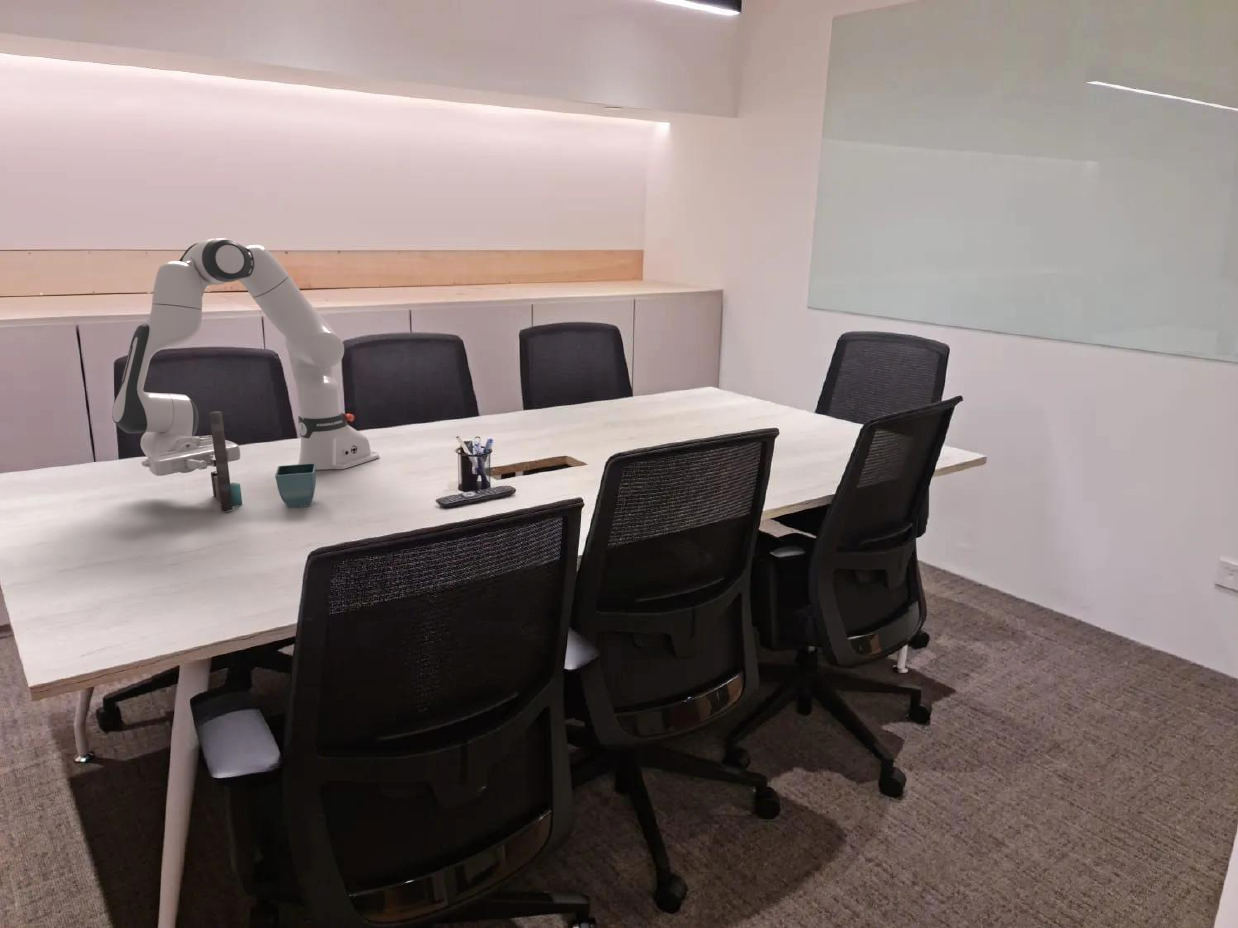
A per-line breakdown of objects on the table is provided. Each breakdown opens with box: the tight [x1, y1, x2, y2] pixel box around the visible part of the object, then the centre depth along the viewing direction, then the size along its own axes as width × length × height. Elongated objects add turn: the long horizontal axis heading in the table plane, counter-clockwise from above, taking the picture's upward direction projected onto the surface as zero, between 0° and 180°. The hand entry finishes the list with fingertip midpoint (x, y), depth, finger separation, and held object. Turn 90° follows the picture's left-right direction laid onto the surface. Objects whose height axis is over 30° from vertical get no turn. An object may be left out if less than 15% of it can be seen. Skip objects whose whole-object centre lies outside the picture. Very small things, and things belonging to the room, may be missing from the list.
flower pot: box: [274, 463, 317, 508], centre depth 215 cm, size 9×9×9 cm
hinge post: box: [210, 470, 217, 498], centre depth 222 cm, size 2×2×6 cm
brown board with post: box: [209, 411, 234, 512], centre depth 212 cm, size 15×3×24 cm, turn 31°
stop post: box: [230, 482, 243, 507], centre depth 215 cm, size 3×3×5 cm
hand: (210, 464), depth 207 cm, fingers closed
